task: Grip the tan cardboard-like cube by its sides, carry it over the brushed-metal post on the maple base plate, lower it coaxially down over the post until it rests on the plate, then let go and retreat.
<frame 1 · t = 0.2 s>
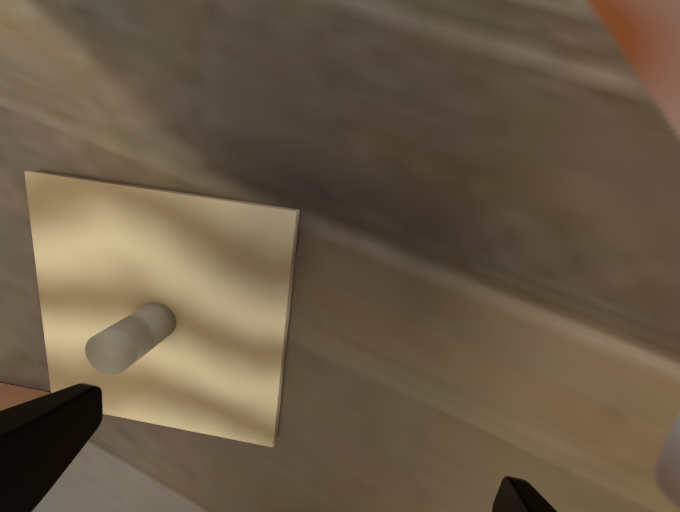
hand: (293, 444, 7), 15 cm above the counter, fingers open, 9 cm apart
post base: (167, 314, 23), on the counter
tan cardboard-like cube: (24, 416, 27), on the counter
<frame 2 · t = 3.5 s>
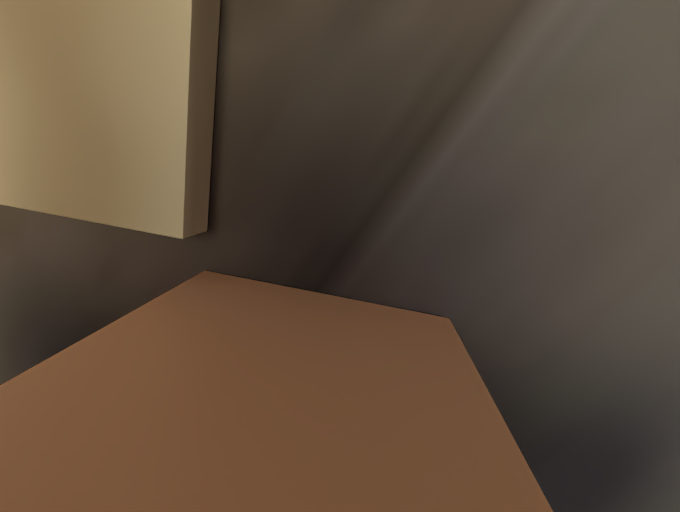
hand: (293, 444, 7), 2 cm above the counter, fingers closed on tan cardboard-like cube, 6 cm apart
tan cardboard-like cube: (307, 398, 8), on the counter, touching gripper
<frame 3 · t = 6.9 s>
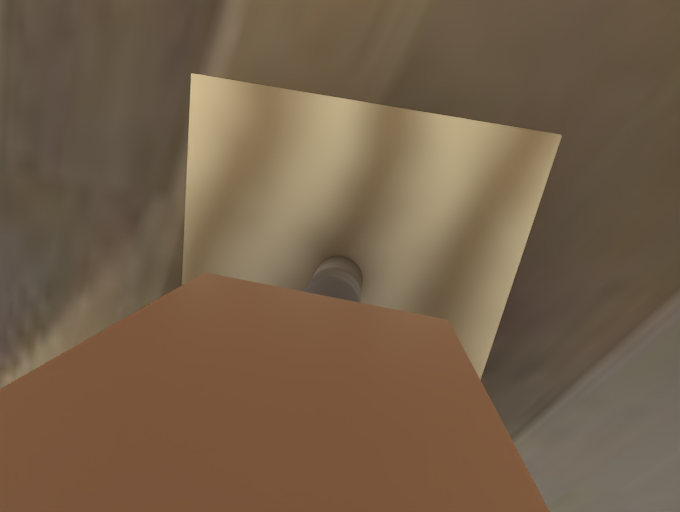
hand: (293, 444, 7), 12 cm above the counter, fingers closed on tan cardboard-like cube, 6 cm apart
post base: (340, 273, 18), on the counter
tan cardboard-like cube: (306, 399, 8), point 10 cm above the counter, touching gripper
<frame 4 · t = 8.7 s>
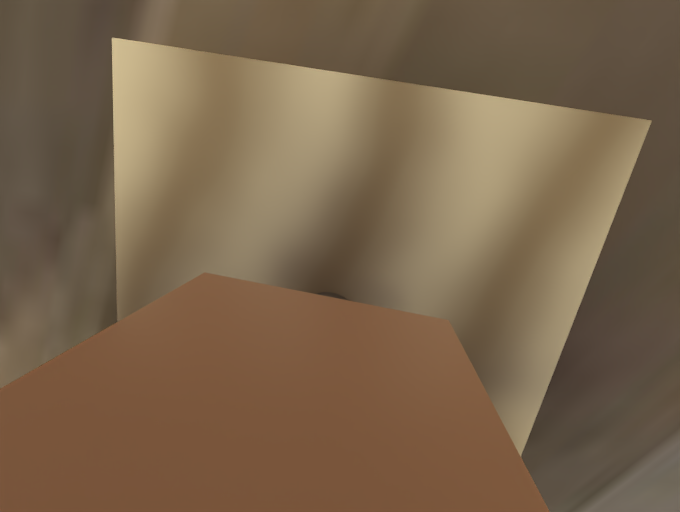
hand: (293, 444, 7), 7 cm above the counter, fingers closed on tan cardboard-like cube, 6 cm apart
post base: (330, 312, 14), on the counter
tan cardboard-like cube: (306, 399, 8), point 6 cm above the counter, touching gripper
when the fingers open (3 cm above the counter, at t = 10.4 s): tan cardboard-like cube stays where it is, resting on post base.
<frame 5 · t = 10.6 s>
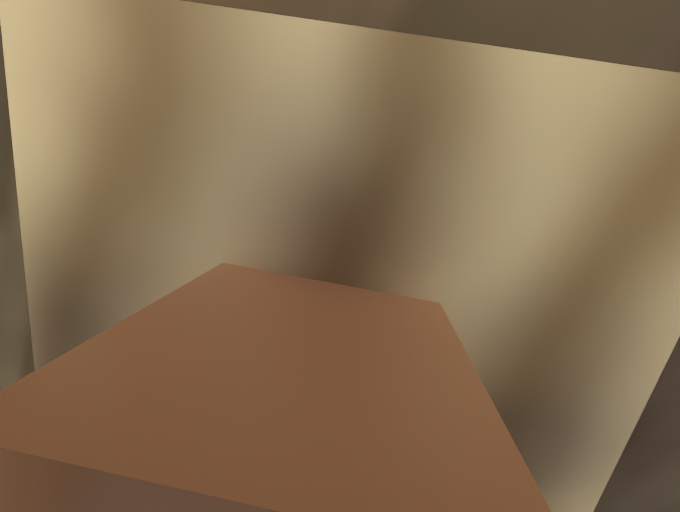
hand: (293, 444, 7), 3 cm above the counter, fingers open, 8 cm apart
post base: (318, 356, 10), on the counter
tan cardboard-like cube: (314, 377, 9), point 1 cm above the counter, touching post base
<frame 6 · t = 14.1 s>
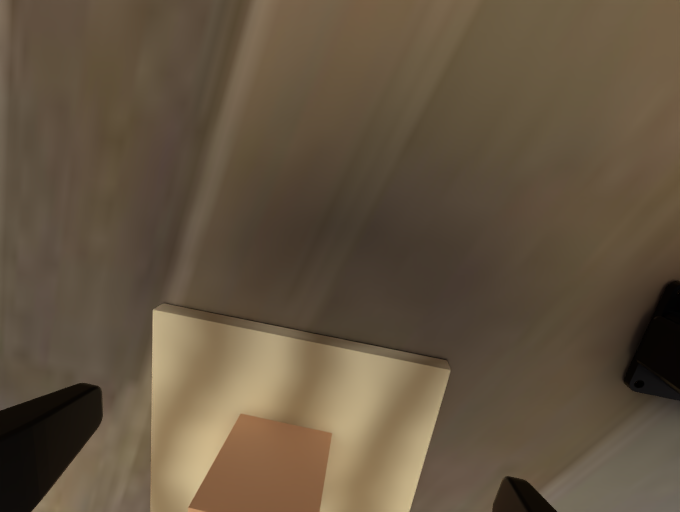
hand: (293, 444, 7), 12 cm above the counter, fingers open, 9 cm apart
post base: (284, 447, 22), on the counter
tan cardboard-like cube: (280, 460, 21), point 1 cm above the counter, touching post base
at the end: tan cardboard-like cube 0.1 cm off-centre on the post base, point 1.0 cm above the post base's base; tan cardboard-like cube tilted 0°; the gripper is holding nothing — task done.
